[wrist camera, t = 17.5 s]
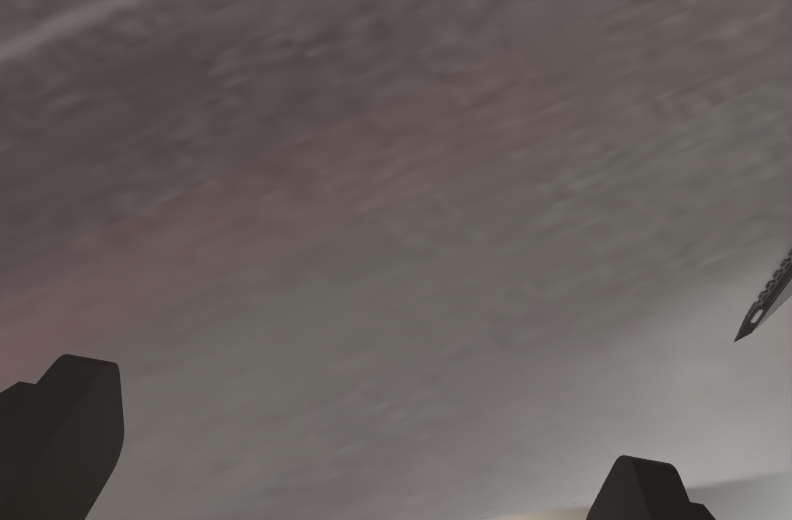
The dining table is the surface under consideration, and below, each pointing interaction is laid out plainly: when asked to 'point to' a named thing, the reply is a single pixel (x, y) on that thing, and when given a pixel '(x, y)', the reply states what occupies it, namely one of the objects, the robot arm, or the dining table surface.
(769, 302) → the knife
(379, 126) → the dining table surface
